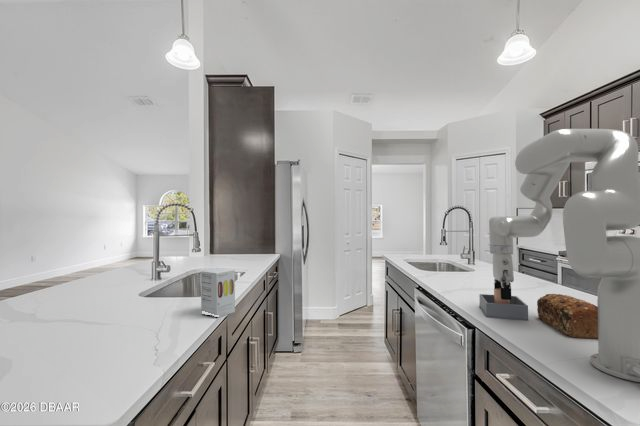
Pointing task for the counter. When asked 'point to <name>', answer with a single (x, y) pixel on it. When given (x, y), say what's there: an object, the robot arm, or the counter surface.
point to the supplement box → (218, 291)
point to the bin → (503, 308)
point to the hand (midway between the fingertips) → (502, 296)
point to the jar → (499, 297)
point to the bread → (569, 315)
